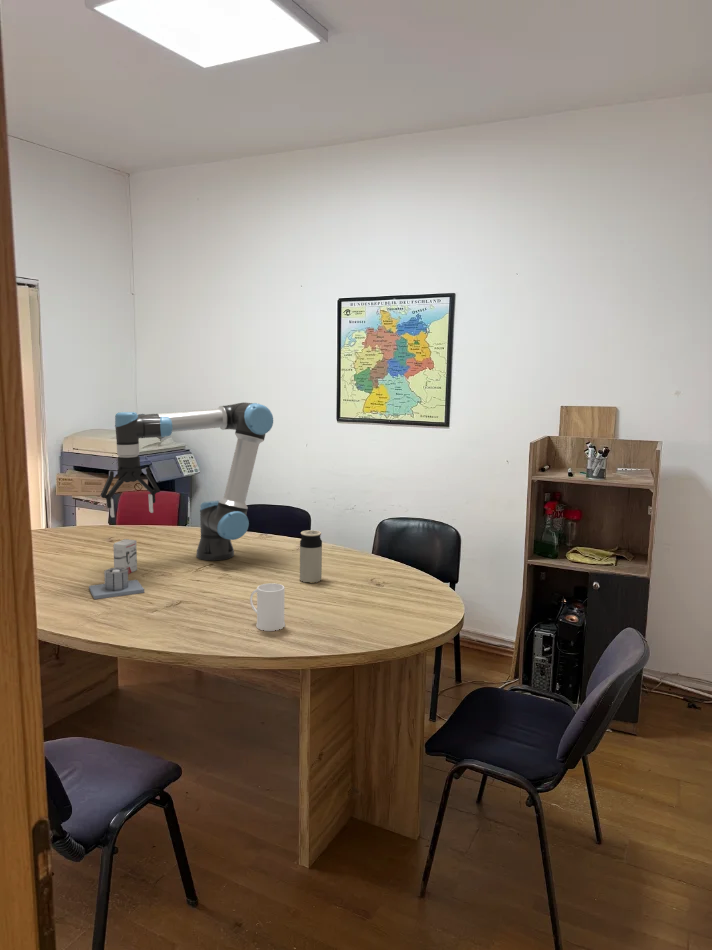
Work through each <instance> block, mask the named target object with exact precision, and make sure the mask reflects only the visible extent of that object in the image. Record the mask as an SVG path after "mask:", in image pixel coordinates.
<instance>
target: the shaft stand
mask: <svg viewBox="0 0 712 950" xmlns="http://www.w3.org/2000/svg"><path fill="white" fill-rule="evenodd" d="M112 572H120V570H112ZM88 590H89V591H90V594H91V596H92V597H93V599H94V600H101V599H108V598H115V597H116V598H117V597H123V596H129V595H137V594H143V593H145V587H143V585H142V584H141V583H140V582H139V580H138V579H132V580H128V588H126V589H124V590H119V591H109V590H106V589H105V583H100V584H91V585H88Z"/></svg>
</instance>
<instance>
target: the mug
mask: <svg viewBox="0 0 712 950" xmlns="http://www.w3.org/2000/svg"><path fill="white" fill-rule="evenodd" d="M254 594H256V607H255V605H254V603H253V596H254ZM249 603H250V606H251V608H252V610H253V612H254V613H256V616H257V617H256V625H255V626H256V628H257V629H258V630H261V631H263V630H264V632H275V630H276V631H280V630H282V629H283V627H284V628H285V627H286V622H285V586H284V585H283V584H280V583H274V582H271V583H270V582H269V583H262V584H259V585H258V586H257V587H256V589H254V590H253V591H252V592H251V594H250V597H249ZM279 629H280V630H279Z"/></svg>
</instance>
